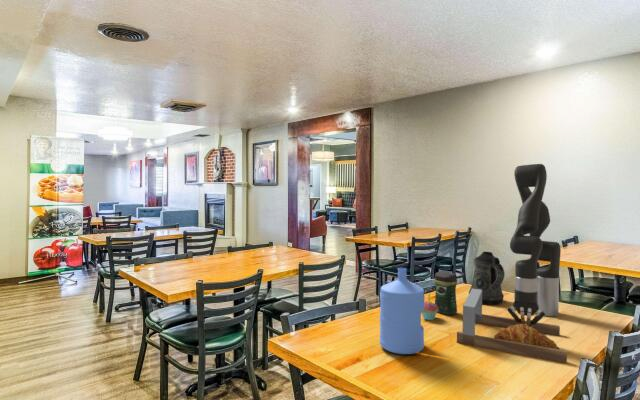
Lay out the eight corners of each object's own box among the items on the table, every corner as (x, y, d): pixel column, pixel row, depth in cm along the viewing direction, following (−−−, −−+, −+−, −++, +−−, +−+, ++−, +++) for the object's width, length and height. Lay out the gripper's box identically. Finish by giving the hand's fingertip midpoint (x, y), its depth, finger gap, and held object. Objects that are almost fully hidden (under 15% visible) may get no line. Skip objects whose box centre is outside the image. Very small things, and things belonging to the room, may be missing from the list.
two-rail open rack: (466, 319, 162) (467, 287, 162) (559, 334, 146) (559, 299, 145) (456, 342, 137) (457, 304, 137) (566, 363, 121) (567, 320, 121)
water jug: (398, 358, 124) (399, 275, 123) (371, 342, 137) (371, 266, 137) (433, 350, 131) (434, 270, 130) (404, 334, 145) (404, 263, 144)
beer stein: (478, 294, 203) (478, 248, 203) (515, 302, 188) (516, 253, 188) (462, 299, 193) (463, 251, 192) (500, 308, 178) (501, 256, 177)
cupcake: (439, 322, 159) (439, 294, 159) (419, 320, 161) (419, 293, 160) (437, 315, 167) (437, 289, 167) (417, 314, 169) (418, 288, 169)
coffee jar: (459, 313, 171) (460, 273, 170) (449, 316, 166) (450, 275, 165) (441, 308, 178) (441, 269, 178) (431, 311, 173) (431, 271, 173)
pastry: (494, 349, 132) (495, 327, 131) (493, 336, 144) (493, 315, 143) (563, 359, 124) (563, 335, 124) (555, 345, 136) (555, 323, 136)
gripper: (545, 288, 139) (545, 333, 140) (506, 284, 146) (506, 327, 147) (547, 293, 133) (546, 341, 134) (505, 289, 139) (505, 334, 140)
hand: (525, 333), depth 140 cm, fingers closed
